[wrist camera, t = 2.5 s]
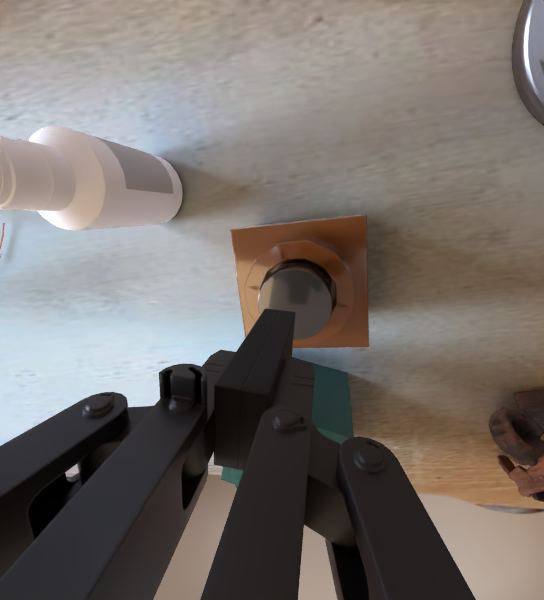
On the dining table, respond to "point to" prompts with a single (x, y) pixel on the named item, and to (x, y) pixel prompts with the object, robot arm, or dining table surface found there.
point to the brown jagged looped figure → (522, 441)
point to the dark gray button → (299, 297)
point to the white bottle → (86, 181)
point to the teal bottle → (321, 411)
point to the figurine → (2, 236)
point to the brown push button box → (320, 253)
